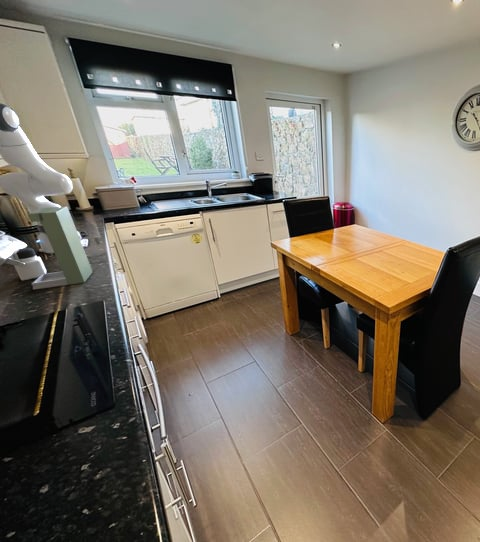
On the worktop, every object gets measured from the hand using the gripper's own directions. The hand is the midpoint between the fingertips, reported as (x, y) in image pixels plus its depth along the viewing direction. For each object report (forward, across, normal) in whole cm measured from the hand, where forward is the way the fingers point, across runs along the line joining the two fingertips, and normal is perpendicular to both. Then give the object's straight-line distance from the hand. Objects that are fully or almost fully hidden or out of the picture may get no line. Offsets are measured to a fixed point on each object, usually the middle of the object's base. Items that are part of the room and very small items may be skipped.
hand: (29, 261), depth 117 cm
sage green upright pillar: (+13, -11, -4) cm, 18 cm away
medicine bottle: (+4, 0, +5) cm, 7 cm away
